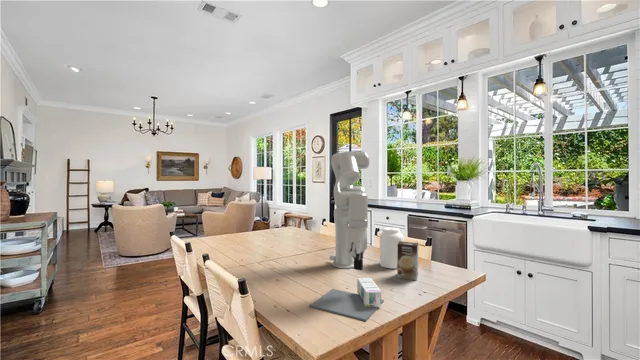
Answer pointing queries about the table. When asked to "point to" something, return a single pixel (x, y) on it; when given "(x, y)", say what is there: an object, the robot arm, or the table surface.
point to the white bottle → (389, 247)
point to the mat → (344, 304)
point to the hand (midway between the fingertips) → (358, 269)
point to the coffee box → (407, 260)
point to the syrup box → (369, 292)
